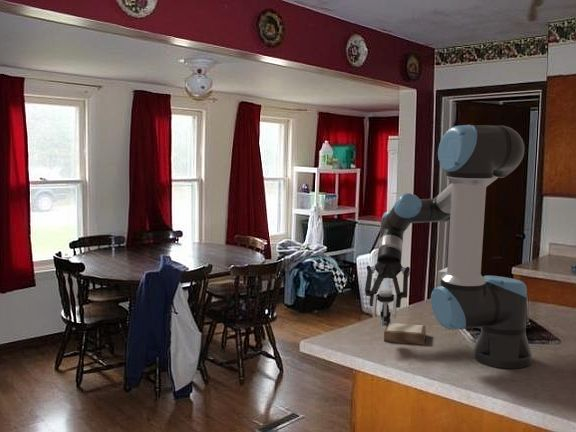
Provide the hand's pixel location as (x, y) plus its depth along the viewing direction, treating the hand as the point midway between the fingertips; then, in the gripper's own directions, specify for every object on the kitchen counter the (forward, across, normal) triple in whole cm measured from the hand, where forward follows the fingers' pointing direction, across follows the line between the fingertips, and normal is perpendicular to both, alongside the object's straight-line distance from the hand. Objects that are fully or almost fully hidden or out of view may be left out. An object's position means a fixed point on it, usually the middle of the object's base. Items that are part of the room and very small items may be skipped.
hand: (383, 315), depth 170 cm
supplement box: (-29, -19, -44) cm, 56 cm away
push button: (0, 0, -6) cm, 6 cm away
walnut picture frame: (-2, -5, -16) cm, 17 cm away
